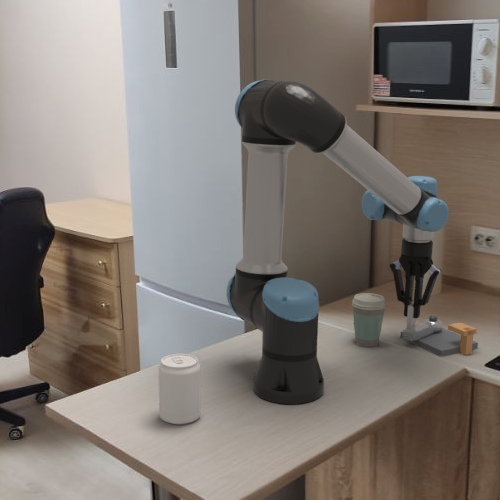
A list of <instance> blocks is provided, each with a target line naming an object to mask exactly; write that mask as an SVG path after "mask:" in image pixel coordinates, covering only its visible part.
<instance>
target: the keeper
mask: <svg viewBox="0 0 500 500" xmlns="http://www.w3.org/2000/svg"><path fill="white" fill-rule="evenodd" d="M447 330H449V331H451V332H454V333H456V334H459V335H461V343H460V352H459V353H460V354H462V355H464V356H467V355H472V354H473V349H472V344H473V341H474V335H476V334H477V331H478V330H477V328H476V327H474V326H471V325H468V324H465V323H464V322H455V323H451V324H448V325H447Z"/></svg>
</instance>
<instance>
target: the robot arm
mask: <svg viewBox="0 0 500 500" xmlns="http://www.w3.org/2000/svg"><path fill="white" fill-rule="evenodd" d="M234 115H235V118H236V121H237V123H238V124H239V126H240V127H241V130H242V131H241V143H242V145H243V146H244V148H246V150H247V152H248V154H247V155H248V156H247V157H248V158H247V174H246V175H247V176H246V196H245V197H246V198H245V212H244V214H245V216H244V218H245V219H244V235H243V236H244V237H243V253H242V254H243V255H242V259H240V260H239V261H238V262H237V263H236V265H235V273H233V276H232V277H231V278H229V281H228V283H227V288H226V301H227V302H228V306H229V307H230V309H231V310H232V311H233V313H234V314H235V315H236V316H237V317H239V318H240V319H241V320H242V321H244V322H246V323H248V324H250V325H251V326H253V327H254V328H256V329H258V330H259V331H260V332H261V333H262V334H261V335H262V337H261V339H262V341H261V343H262V344H261V345H262V348H261V349H262V351H261V357H260V360H259V363H258V366H257V368H256V371H255V374H254V377H253V388H252V389H253V392H254V394H255V395H256V396H258V397H259V398H261V399H263V400H266V401H268V402H271V403H276V404H282V405H296V404H297V405H298V404H299V405H300V404H306V403H310V402H313V401H316V400H318V399H320V398H321V397H322V396H323V394H324V392H325V391H324V390H325V380H324V377H323V373H322V370H321V366H320V363H319V360H318V333H319V312H320V301H319V292H318V290H317V288H316V287H315V286H314V285H313V284H311V283H309V282H308V281H305V280H303V279H296V278H293V277H288V271H289V270H288V269H289V268H288V266H287V265H286V264H285V263H284V262H283V261H282V258H283V257H282V254H283V253H282V252H283V242H284V241H283V237H284V224H285V223H284V221H285V209H286V208H285V205H286V204H285V203H286V191H287V190H286V188H287V175H288V174H287V172H288V159H289V158H288V157H289V152H290V151H291V150H293V149H294V148H295V147H296V143H299V144H300V145H303V146H304V147H306V148H307V149H309V150H311V152H313V153H314V154H316V155H317V154H318V155H321V154H323V155H324V156H326V158H328V159H329V160H331V161H332V162H333V163H334V164H336V165H337V166H338V167H339V168H340V169H342V170H343V171H344V172H345V173H346V174H348V175H349V176H350V177H351V178H353V179H354V180H355V181H356V182H358V183H359V184H360V185H361V186H363V187H364V188H365V189H366V191H365V192H364V194H363V195H362V198H361V210H362V212H363V215H364V217H365V218H367V219H368V220H371V221H381V220H385V221H386V220H387V221H390V222H394V223H397V224H400V225H402V236H401V237H403V239H401V249H400V251H401V252H400V253H401V254H400V257H398V260H396V261H393V262H391V263H390V264H389V268H390V270H391V272H392V275H393V280H394V285H395V293H396V299H397V301H398V302H401V303H403V305H404V307H403V308H404V309H403V315H404V317H406V328H405V329H407V328H410V327H412V326H415V325H416V322H417V321H416V319H418V318H420V314H421V306H425V305H427V304H428V303H429V300H430V298H431V295H432V292H433V290H434V287H435V284H436V281H437V278H438V277H439V276H440V275H441V273H442V269H441V268H437V267H436V266H435V265H434V261H433V259H432V257H433V246H434V242H433V239H434V234H435V233H436V232H439V231H440V230H442V229H443V228H444V227H445V225H446V224H447V222H448V220H449V215H450V214H449V213H450V211H449V206H448V205H447V203H446V202H445V201H444V200H443V199H439V198H438V196H439V195H438V181H437V179H436V178H434V177H431V176H428V175H412V176H406V175H405V174H404V173H403V172H402V171H401V170H400V169H398V168H397V167H396V166H395V165H394V164H393V163H391V162H390V161H389V160H388V159H386V157H384V156H383V155H382V154H381V153H380V152H379V151H378V150H376V149H375V148H374V147H373V146H372V145H371V144H369V143H368V142H367V141H366V140H365V139H364V138H363V137H361V136H360V135H359V134H358V133H357V132H356V131H355V130H353V129H352V127H350V126H349V125H348V124H347V117H346V115H344V114H343V113H342V112H340V110H339V109H337V108H336V107H335V106H334V105H333V104H332V103H330V102H329V100H328V99H326V98H325V97H323V96H322V95H321V94H319V92H317V91H316V90H315V89H313V88H312V87H310V86H308V85H307V84H305V83H302V82H299V81H293V80H276V79H275V80H274V79H270V78H268V79H262V80H256V81H253V82H251V83H249V84H247V85H246V86H245V87H244V88H243V89H242V90H241V91H240V93H239V94H238V96H237V98H236V101H235V107H234ZM401 268H402V270H403V271H404V273H405V274H404V275H405V276H404V278H405V285H404V279H403V274H402V270H401ZM429 270H430V271H429ZM428 272H429V274H430V275H429V278H428V281H427V284H426V286H425V288H424V293H423V287H424V285H423V284H424V278H425V275H426V274H427V273H428ZM414 281H415V282H414ZM413 288H414V289H413ZM413 291H414V295H413Z"/></svg>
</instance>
